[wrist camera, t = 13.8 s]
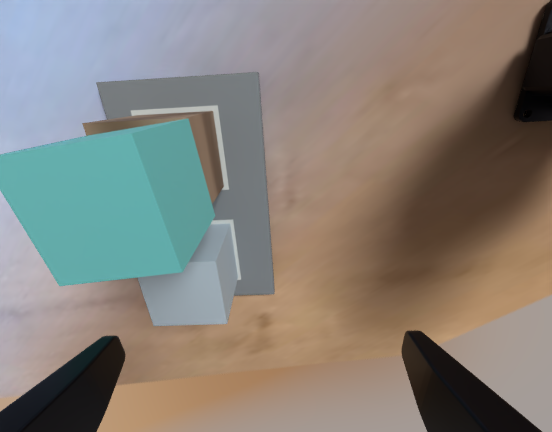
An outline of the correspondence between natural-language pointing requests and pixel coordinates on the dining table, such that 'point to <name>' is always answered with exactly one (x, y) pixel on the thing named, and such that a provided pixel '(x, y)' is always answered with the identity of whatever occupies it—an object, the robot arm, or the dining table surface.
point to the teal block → (111, 202)
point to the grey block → (196, 284)
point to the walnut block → (202, 135)
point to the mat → (232, 149)
